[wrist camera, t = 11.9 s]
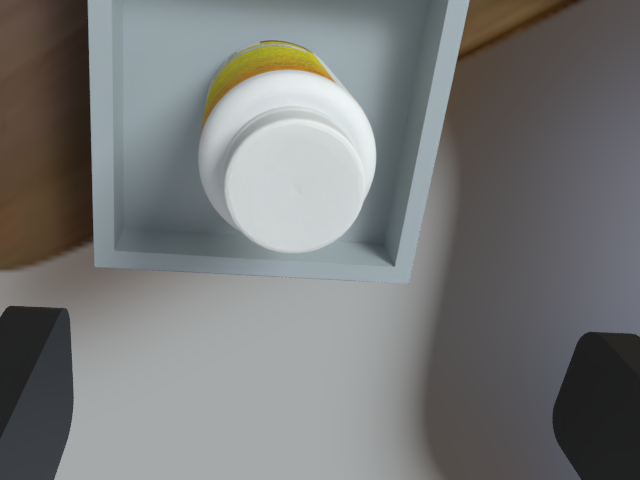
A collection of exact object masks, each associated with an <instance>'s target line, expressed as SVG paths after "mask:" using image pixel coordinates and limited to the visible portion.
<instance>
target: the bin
mask: <svg viewBox="0 0 640 480" xmlns="http://www.w3.org/2000/svg"><path fill="white" fill-rule="evenodd" d="M469 1H470V0H88V29H89V70H90V111H91V152H92V193H93V233H94V267H104V268H121V269H141V270H159V271H160V270H161V271H179V272H197V273H215V274H234V275H254V276H272V277H290V278H309V279H329V280H347V281H348V280H349V281H366V282H385V283H403V284H409V280H410V276H411V270H412V266H413V262H414V257H415V252H416V248H417V243H418V238H419V234H420V229H421V224H422V220H423V215H424V210H425V206H426V201H427V196H428V192H429V187H430V182H431V178H432V173H433V168H434V164H435V159H436V154H437V150H438V144H439V140H440V136H441V131H442V126H443V122H444V117H445V112H446V108H447V103H448V98H449V93H450V89H451V84H452V80H453V75H454V70H455V66H456V61H457V57H458V52H459V47H460V43H461V38H462V33H463V29H464V24H465V19H466V15H467V10H468V5H469ZM263 40H282V41H288V42H292V43H295V44H298V45H300V46H302V47H304V48H306V49H308V50H309V51H311V52H312V53H314V54H315V55H316V56H318V57H319V58H320V59H321V60H322V61H323V62H324V63H325V64H326V66H327V67H328V68H329V69H330V70H331V71H332V72H333V74H334V75H335V76H336V77H337V78H338V79H339V81H340V82H341V83H342V84H343V85H344V87H345V88H346V89H347V90H348V91H349V93H350V94H351V95H352V96H353V97H354V98H355V100H356V101H357V102H358V103H359V105H360V106H361V108H362V110H363V111H364V113H365V115H366V117H367V119H368V121H369V123H370V125H371V128H372V131H373V135H374V139H375V145H376V167H375V173H374V178H373V181H372V184H371V187H370V189H369V192H368V194H367V196H366V198H365V200H364V201H363V205H362V208H361V210H360V212H359V214H358V216H357V218H356V219H355V221H354V223H353V224H352V225H351V227H350V228H349V229H348V230H347V231H346V232H345V233H344V234H343V235H342V236H341V237H339V238H338V239H337V240H335V241H334V242H333V243H331V244H329V245H327V246H325V247H323V248H320V249H318V250H314V251H311V252H307V253H300V254H286V253H279V252H274V251H271V250H268V249H265V248H263V247H261V246H259V245H257V244H255V243H254V242H252V241H251V240H249V239H248V238H247V237H246V236H245V235H244V234H242V232H240V231H238V230H237V229H235V228H234V227H233V226H231V225H230V224H229V223H228V222H226V221H225V220H224V219H223V218H222V217H221V216H220V215H219V213H218V212H217V211H216V210H215V208H214V207H213V205H212V204H211V202H210V201H209V199H208V197H207V195H206V193H205V190H204V188H203V185H202V182H201V178H200V173H199V165H198V150H199V142H200V135H201V130H202V123H203V117H204V112H205V106H206V99H207V94H208V90H209V87H210V84H211V81H212V79H213V77H214V75H215V73H216V72H217V70H218V68H219V67H220V66H221V64H222V63H223V62H224V61H225V60H226V59H227V58H228V57H229V56H230V55H232V54H233V53H234V52H235V51H237V50H239V49H240V48H242V47H244V46H246V45H248V44H251V43H254V42H258V41H263Z"/></svg>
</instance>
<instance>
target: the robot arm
mask: <svg viewBox="0 0 640 480" xmlns="http://www.w3.org/2000/svg"><path fill="white" fill-rule="evenodd" d="M73 398H74V397H73V373H72V353H71V332H70V318H69V314H68V311H67V309H66V308H46V307H24V306H9V307H7V308H6V310H5V311H4V312H3V314H2V315H1V317H0V480H54V478H55V475H56V472H57V469H58V466H59V463H60V460H61V457H62V454H63V451H64V448H65V445H66V442H67V439H68V435H69V431H70V426H71V420H72V413H73ZM553 429H554V433H555V437H556V440H557V442H558V444H559V446H560V447H561V449H562V450H563V452H564V454H565V455H566V457H567V458H568V460H569V461H570V463H571V464H572V466H573V467H574V469H575V470H576V472H577V474H578V475H579V477H580V478H581V480H640V337H639V336H637V335H635V334H628V333H626V334H625V333H604V332H588V333H586V334H584V335H583V336H582V337H581V338H580V339H579V341H578V343H577V345H576V348H575V350H574V353H573V356H572V359H571V361H570V364H569V367H568V369H567V372H566V375H565V378H564V380H563V383H562V386H561V388H560V391H559V394H558V397H557V399H556V402H555V405H554V409H553Z"/></svg>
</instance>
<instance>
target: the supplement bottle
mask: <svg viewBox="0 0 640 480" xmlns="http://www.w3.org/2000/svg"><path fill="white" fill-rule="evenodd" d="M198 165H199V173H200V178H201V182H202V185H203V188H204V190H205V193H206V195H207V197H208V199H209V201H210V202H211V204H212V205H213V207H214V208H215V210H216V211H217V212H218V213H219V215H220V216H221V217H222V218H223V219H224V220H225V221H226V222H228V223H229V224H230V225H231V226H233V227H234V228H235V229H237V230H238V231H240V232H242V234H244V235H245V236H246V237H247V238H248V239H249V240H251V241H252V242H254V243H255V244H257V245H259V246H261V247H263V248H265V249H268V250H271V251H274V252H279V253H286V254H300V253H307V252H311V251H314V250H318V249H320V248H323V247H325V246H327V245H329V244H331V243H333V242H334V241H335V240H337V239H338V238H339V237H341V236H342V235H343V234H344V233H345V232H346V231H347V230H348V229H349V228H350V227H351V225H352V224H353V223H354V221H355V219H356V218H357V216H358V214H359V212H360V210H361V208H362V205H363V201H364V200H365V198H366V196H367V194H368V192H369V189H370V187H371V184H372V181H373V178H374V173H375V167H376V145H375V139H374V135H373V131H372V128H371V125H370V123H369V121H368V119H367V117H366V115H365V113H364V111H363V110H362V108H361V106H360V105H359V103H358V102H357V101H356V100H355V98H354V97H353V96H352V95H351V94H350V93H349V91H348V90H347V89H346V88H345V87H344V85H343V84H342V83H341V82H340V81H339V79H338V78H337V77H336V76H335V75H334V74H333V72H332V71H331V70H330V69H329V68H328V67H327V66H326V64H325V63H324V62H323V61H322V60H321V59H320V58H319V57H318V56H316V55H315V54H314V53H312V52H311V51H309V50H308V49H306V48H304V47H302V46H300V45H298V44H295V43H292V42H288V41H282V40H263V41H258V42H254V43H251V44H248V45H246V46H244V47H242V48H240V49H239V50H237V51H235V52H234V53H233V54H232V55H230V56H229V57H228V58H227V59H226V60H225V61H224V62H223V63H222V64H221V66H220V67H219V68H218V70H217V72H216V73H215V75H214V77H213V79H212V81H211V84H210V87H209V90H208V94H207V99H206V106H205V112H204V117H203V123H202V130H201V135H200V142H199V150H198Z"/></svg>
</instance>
